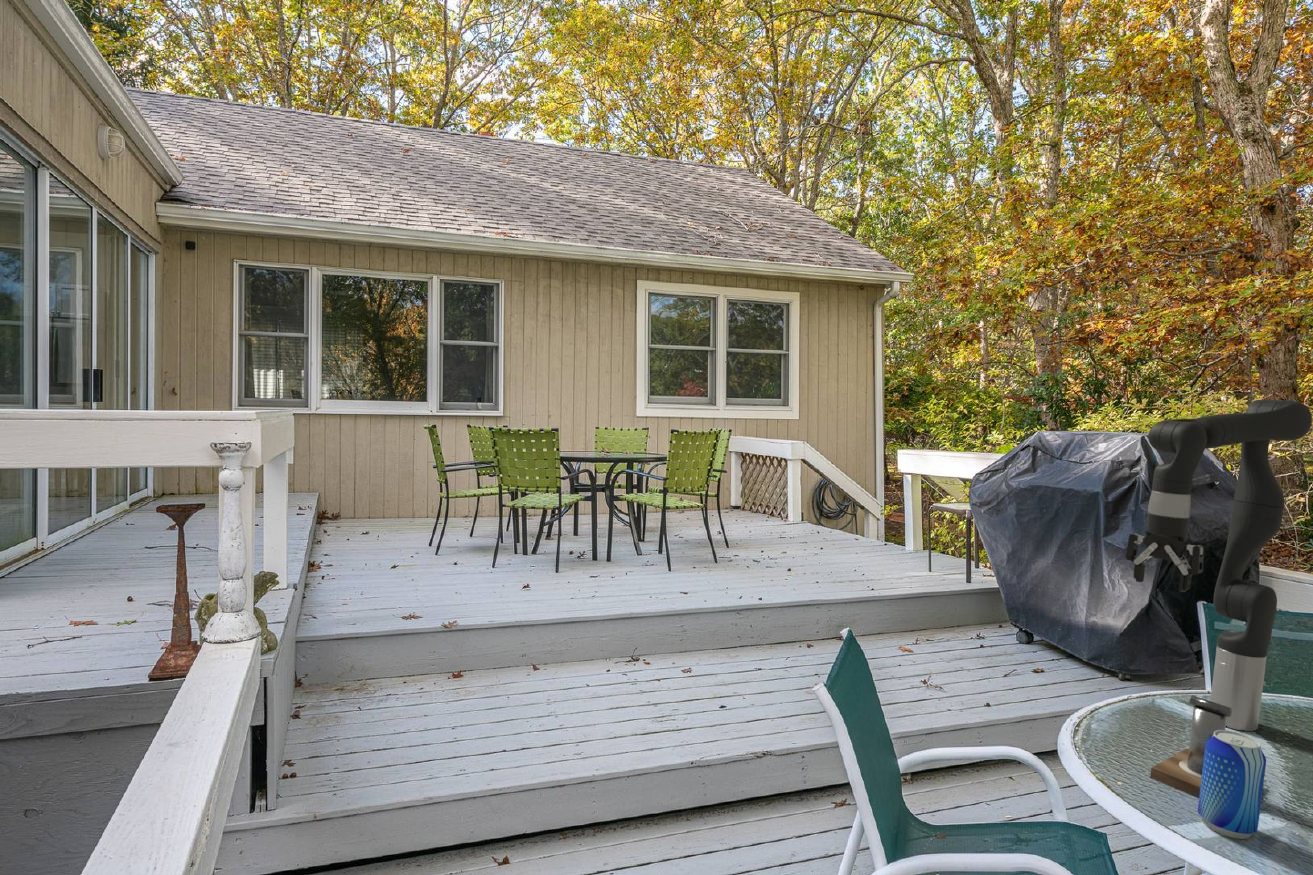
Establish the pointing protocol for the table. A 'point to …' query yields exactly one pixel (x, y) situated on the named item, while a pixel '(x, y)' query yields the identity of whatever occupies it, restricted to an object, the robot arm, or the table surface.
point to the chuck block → (1178, 774)
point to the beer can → (1232, 784)
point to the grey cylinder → (1204, 729)
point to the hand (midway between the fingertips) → (1160, 586)
